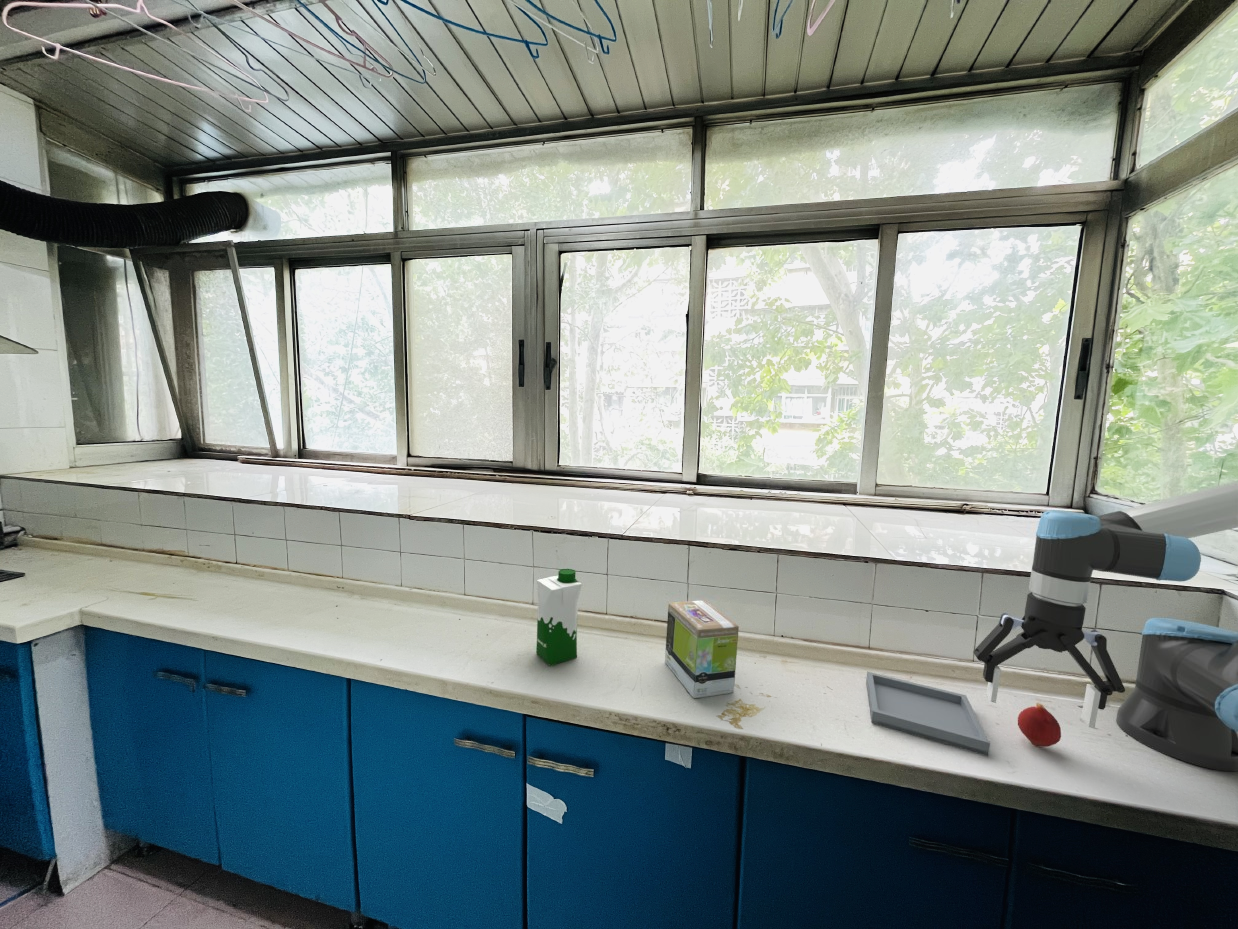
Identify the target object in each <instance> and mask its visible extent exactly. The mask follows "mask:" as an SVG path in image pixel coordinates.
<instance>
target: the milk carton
mask: <svg viewBox="0 0 1238 929" xmlns="http://www.w3.org/2000/svg"><path fill="white" fill-rule="evenodd" d="M557 574H558V575H554V576H548V577H546V578H540V579H537V580H536V590H537V622H536V623H537V626H536V627H537V628H536V649H535V653H536V654H537V655H538V656H539V657H540V658H541V659H542V660H543V661H544V662H545V663H546V664H548V666H550V667H551V666H555V665H557V664H560V663H563V662H564V663H565V662H567V661H571V660H573V659H576V658H577V657H578V648H577V647H578V639H577V638H578V637H577V636H578V615H579V614H578V611H579V610H578V609H579V596H580V593H581V589H582V586H583V584H582V583H581V582H580V581H579V580H577V578H576V570H574V569H572V568H563V569H559V570H558V572H557Z"/></svg>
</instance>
